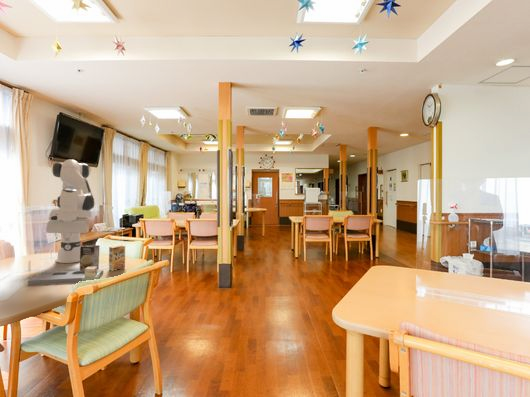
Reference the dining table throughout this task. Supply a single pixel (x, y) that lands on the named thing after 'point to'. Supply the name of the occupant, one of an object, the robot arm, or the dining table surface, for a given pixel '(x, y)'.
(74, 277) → the trap board
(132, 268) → the dining table surface
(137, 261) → the dining table surface
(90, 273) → the maple block
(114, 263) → the candy box
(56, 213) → the robot arm
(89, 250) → the coffee box
